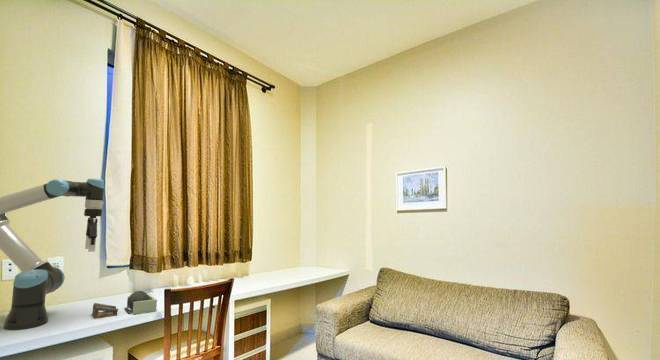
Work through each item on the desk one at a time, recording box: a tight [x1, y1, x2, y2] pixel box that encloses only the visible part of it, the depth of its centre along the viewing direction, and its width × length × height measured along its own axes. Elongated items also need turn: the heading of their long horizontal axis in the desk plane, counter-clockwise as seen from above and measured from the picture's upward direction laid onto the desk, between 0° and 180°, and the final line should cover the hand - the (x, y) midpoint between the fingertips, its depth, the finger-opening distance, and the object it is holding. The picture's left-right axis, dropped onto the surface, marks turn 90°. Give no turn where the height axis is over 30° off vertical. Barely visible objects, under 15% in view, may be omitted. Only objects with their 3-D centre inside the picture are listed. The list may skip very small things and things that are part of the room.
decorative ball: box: [127, 290, 149, 311], centre depth 185 cm, size 10×10×10 cm
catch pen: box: [126, 293, 158, 316], centre depth 187 cm, size 11×15×6 cm
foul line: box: [124, 306, 132, 315], centre depth 182 cm, size 1×11×1 cm, turn 40°
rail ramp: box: [91, 302, 119, 319], centre depth 176 cm, size 10×9×6 cm
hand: (89, 250), depth 179 cm, fingers open, 13 cm apart
